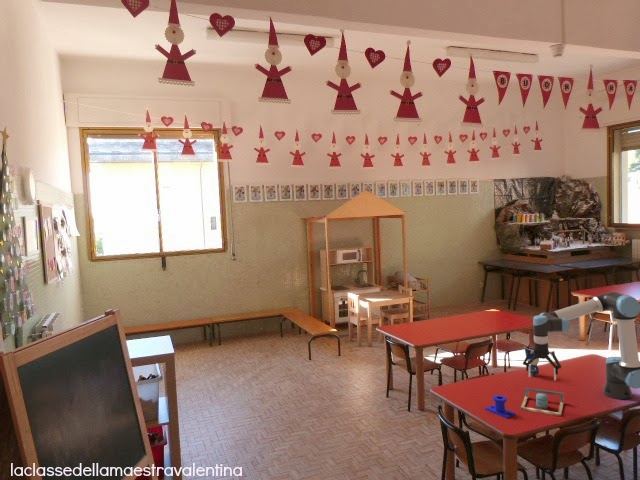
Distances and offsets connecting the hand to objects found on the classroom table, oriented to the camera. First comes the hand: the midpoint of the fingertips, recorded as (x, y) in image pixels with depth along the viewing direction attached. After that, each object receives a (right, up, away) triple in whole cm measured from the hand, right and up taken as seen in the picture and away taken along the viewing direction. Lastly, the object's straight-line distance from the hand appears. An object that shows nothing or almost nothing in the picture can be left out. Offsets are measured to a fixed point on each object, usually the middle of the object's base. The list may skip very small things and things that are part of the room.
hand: (542, 378), depth 277 cm
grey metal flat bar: (+6, -16, +10) cm, 20 cm away
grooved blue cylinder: (0, -17, +1) cm, 17 cm away
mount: (-26, -19, -4) cm, 32 cm away
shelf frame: (+1, -17, +2) cm, 17 cm away
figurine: (+18, -14, +52) cm, 57 cm away
